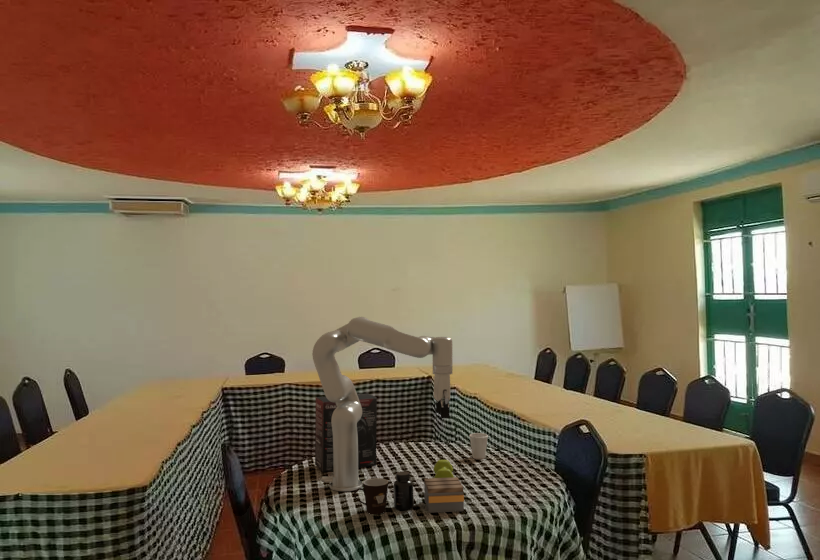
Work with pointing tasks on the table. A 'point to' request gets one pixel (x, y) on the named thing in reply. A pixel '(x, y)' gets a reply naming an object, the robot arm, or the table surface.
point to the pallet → (443, 485)
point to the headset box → (364, 431)
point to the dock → (444, 501)
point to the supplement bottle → (403, 491)
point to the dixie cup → (478, 445)
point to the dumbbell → (443, 469)
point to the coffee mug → (374, 495)
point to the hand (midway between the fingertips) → (442, 415)
